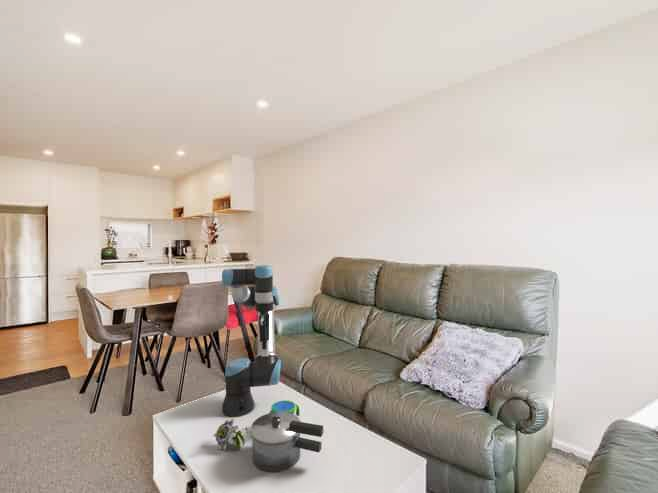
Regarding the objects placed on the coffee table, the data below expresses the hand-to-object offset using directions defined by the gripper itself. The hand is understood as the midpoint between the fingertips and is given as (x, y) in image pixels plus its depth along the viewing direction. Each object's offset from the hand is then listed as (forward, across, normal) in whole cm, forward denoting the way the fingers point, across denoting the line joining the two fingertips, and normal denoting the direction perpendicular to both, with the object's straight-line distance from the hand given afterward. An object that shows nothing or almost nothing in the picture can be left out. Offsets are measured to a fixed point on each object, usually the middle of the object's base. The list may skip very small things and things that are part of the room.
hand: (264, 355), depth 144 cm
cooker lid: (+22, -19, -12) cm, 31 cm away
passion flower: (+33, -10, +12) cm, 36 cm away
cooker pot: (+32, -19, -12) cm, 39 cm away
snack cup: (+33, 0, -8) cm, 33 cm away
